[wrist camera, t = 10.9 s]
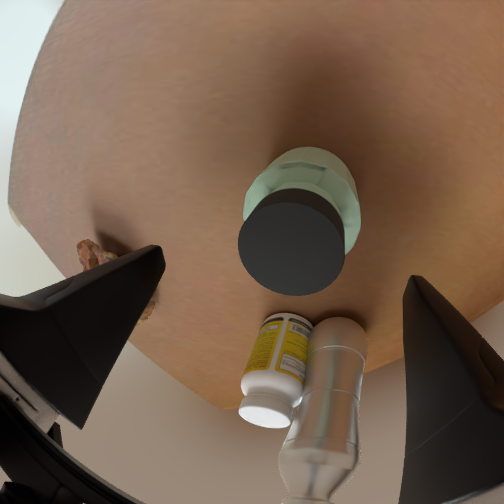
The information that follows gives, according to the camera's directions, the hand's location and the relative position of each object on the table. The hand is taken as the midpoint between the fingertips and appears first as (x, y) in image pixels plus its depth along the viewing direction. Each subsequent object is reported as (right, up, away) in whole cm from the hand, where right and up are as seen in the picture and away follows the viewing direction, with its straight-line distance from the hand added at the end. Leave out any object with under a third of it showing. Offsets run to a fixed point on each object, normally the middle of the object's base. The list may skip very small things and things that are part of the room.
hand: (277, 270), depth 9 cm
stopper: (+2, +3, +8) cm, 9 cm away
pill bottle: (+3, -8, +20) cm, 22 cm away
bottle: (+4, +5, +12) cm, 13 cm away
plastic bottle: (+8, -8, +18) cm, 21 cm away
